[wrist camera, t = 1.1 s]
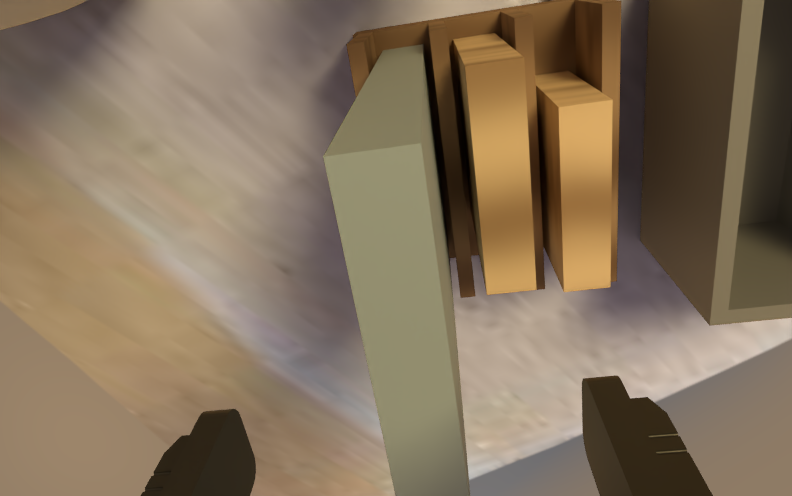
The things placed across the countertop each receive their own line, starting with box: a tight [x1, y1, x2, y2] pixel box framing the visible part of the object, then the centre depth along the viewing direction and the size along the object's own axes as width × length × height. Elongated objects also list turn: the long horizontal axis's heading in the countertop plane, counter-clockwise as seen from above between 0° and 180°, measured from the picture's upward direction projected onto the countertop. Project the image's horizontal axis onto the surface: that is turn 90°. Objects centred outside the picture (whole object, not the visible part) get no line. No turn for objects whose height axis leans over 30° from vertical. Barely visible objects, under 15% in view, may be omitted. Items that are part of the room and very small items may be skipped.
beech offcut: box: [535, 71, 613, 292], centre depth 29 cm, size 9×2×8 cm, turn 9°
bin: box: [640, 0, 792, 325], centre depth 28 cm, size 17×9×10 cm, turn 9°
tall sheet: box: [323, 44, 470, 496], centre depth 24 cm, size 12×2×20 cm, turn 9°
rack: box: [347, 0, 621, 298], centre depth 31 cm, size 14×13×7 cm
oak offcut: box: [453, 33, 537, 295], centre depth 28 cm, size 10×2×10 cm, turn 9°
